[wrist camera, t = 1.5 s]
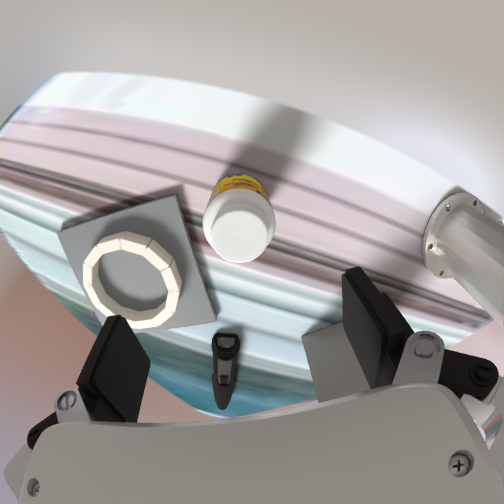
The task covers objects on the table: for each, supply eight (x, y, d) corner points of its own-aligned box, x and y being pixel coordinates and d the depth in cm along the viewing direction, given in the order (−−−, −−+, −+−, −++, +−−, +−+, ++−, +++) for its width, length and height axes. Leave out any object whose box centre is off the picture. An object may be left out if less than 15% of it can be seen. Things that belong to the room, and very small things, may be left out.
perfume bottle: (354, 348, 39) (395, 448, 23) (312, 364, 40) (340, 468, 24) (347, 318, 36) (396, 429, 20) (301, 336, 37) (331, 454, 21)
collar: (176, 193, 28) (170, 201, 25) (216, 316, 35) (215, 332, 32) (60, 229, 28) (48, 239, 26) (111, 331, 35) (104, 345, 33)
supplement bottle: (277, 191, 28) (297, 227, 19) (245, 233, 30) (250, 286, 21) (230, 160, 27) (227, 181, 17) (200, 205, 28) (184, 248, 19)
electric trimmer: (210, 395, 43) (210, 410, 40) (212, 331, 36) (210, 348, 33) (233, 396, 43) (233, 411, 40) (240, 332, 36) (241, 350, 34)
